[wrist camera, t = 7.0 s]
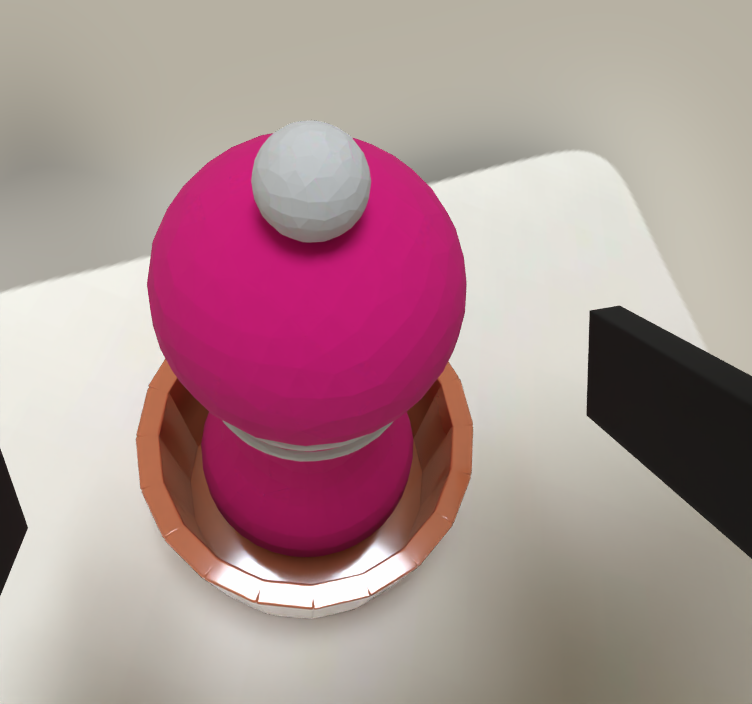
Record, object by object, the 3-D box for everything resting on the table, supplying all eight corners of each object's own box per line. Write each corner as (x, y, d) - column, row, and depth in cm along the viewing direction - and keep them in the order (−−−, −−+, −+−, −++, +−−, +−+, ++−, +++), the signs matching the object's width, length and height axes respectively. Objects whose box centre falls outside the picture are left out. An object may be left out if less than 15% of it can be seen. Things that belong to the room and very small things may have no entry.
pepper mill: (179, 491, 27) (-90, 158, 9) (298, 361, 30) (283, -102, 11) (321, 610, 26) (354, 515, 7) (431, 464, 28) (657, 128, 10)
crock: (484, 528, 28) (537, 493, 22) (249, 675, 25) (230, 684, 19) (355, 323, 31) (368, 239, 25) (134, 432, 28) (83, 368, 22)
